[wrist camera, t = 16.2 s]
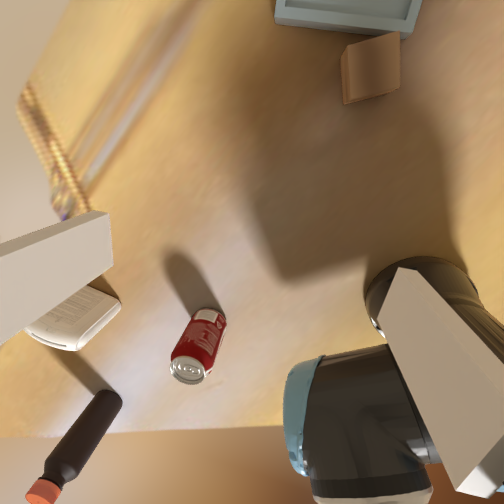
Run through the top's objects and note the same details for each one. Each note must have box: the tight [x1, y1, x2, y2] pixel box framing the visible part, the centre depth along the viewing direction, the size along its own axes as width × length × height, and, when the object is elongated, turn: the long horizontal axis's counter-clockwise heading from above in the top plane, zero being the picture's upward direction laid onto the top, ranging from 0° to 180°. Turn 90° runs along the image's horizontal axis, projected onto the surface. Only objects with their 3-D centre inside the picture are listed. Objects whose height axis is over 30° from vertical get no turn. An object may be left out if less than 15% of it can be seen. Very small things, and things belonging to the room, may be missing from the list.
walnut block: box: [340, 30, 400, 105], centre depth 30 cm, size 5×5×5 cm
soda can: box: [170, 308, 227, 385], centre depth 45 cm, size 7×7×12 cm
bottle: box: [25, 390, 122, 504], centre depth 55 cm, size 7×7×20 cm
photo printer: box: [23, 285, 121, 351], centre depth 46 cm, size 10×4×12 cm, turn 68°
